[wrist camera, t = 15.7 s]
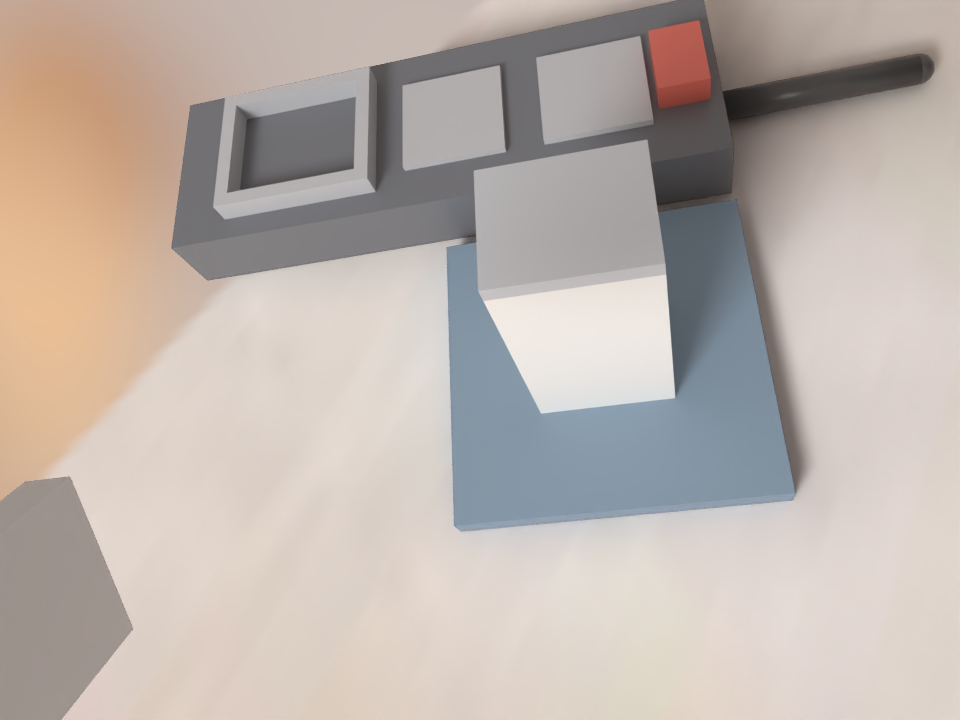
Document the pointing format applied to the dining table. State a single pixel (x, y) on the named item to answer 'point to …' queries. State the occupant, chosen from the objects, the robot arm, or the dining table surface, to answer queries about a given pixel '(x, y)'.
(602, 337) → the block
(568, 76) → the power strip
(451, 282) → the mat
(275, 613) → the dining table surface
